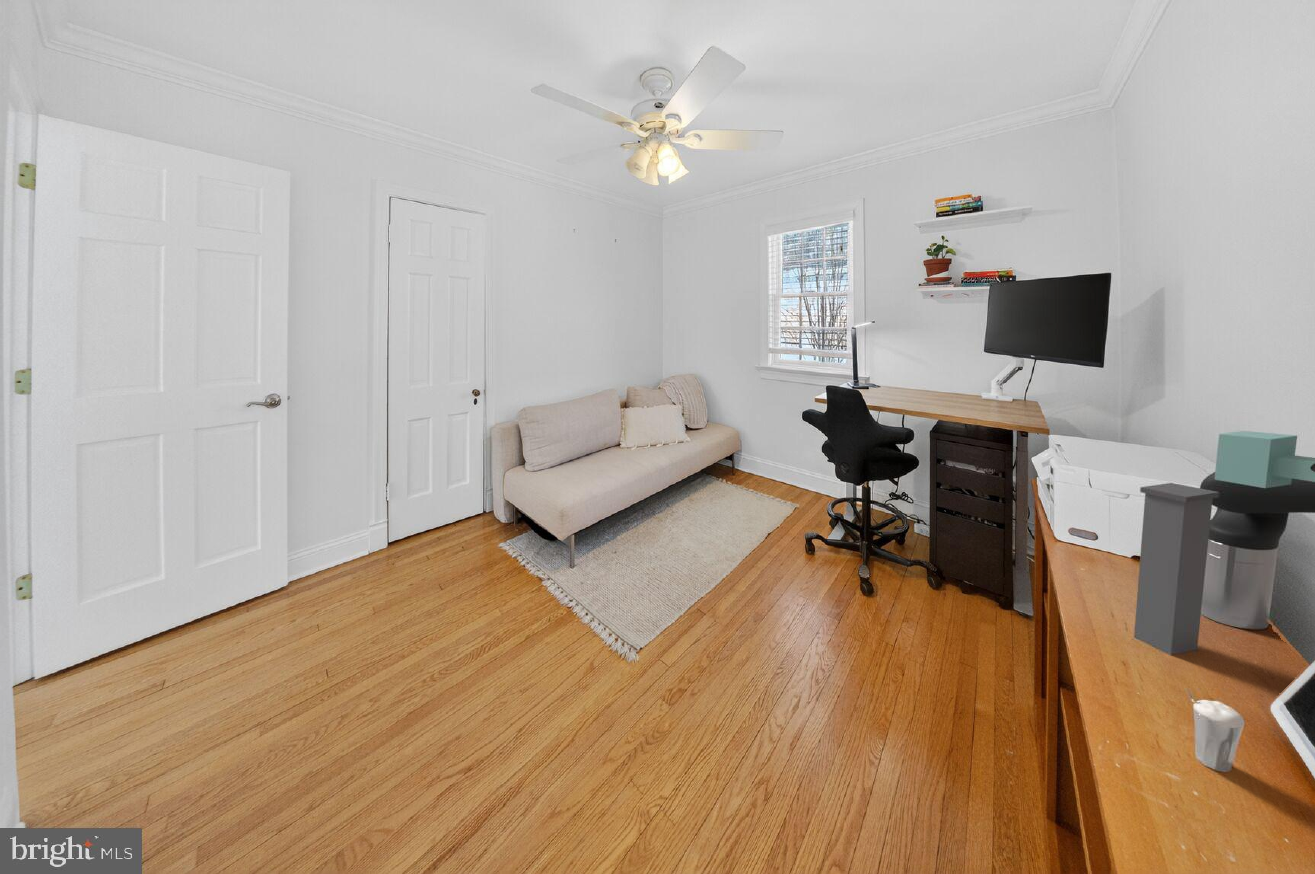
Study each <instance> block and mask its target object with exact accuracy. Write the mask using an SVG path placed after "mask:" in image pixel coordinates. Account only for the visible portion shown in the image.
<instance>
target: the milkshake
mask: <svg viewBox="0 0 1315 874" xmlns="http://www.w3.org/2000/svg"><path fill="white" fill-rule="evenodd" d="M1185 690H1186V692H1187V693H1188V694H1187V695H1188V696H1189V698H1190V700H1191V702H1192V704H1193V705H1192V706H1193V708H1192V709H1193V722H1194V751H1195V752H1194V753H1195V754H1194V755H1195V757H1196V758H1195V759H1196V760H1197V761H1199V762H1200V763H1201V764H1202V765H1203V766H1206V767H1207V768H1210V769H1211V770H1214V771H1217V772H1221V773H1228V772H1231V771H1232V767H1233V765H1234V760H1235V758H1236V753H1237V749H1238V744H1239V742H1240V738H1241V735H1242V732H1243V729H1244V727H1245V726H1244V725H1245V720H1244V718H1243V717H1242V715H1241V714H1239V712H1237V710H1235V709H1234V708H1232V707H1231V706H1229V705H1226V704H1224V703H1223V702H1221V701H1217V700H1208V699H1200V700H1197V701H1195V700H1194V699H1193V696H1192V695H1191V693H1190V691H1189V689H1188V687H1186V689H1185Z"/></svg>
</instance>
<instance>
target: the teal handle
mask: <svg viewBox="0 0 1315 874" xmlns="http://www.w3.org/2000/svg"><path fill="white" fill-rule="evenodd" d="M1297 440H1298V435H1293V434H1292V435H1291V434H1284V433H1273V432H1271V433H1270V432H1262V431H1250V430H1239V431H1233V432H1225V433H1219V434H1218V443H1217V450H1216V451H1217V453H1216V460H1215V461H1216V462H1215V470H1214V472H1215V480H1221V481H1227V482H1232V483H1238V484H1244V485H1250V486H1255V487H1261V488H1270V487H1277V486H1283V485H1290V484H1291V481H1292V478H1293V479H1299V480H1306V481H1312V482H1315V472H1314V471H1312V470H1311V469H1310V467H1311V466H1312V465H1313V464H1314V463H1315V457H1312V456H1311V457H1310V456H1301V455H1296V449H1297Z"/></svg>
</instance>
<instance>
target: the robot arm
mask: <svg viewBox="0 0 1315 874" xmlns="http://www.w3.org/2000/svg"><path fill="white" fill-rule="evenodd" d="M1310 469H1311V470H1312V471H1314V472H1315V463H1314V464H1313V465H1312V466H1311V467H1310ZM1199 488H1200V489H1205V490H1211V491H1216V492H1219V497H1218V498H1213V500H1212V507H1213V506H1214V507H1215V508H1216V512H1215V513H1214V515H1213V516H1212V517H1211V519H1210V529H1209V539H1208V549H1207V558H1206V568H1205V578H1204V588H1203V597H1202V607H1201V615H1202V616H1203V617H1206V618H1208V619H1210V620H1212V621H1215V622H1217V623H1220V624H1222V625H1227V626H1230V627H1235V628H1240V629H1245V630H1246V629H1247V630H1264V629H1266V628H1268V626H1269V621H1270V612H1271V606H1272V605H1271V604H1272V598H1273V590H1274V584H1275V583H1274V582H1275V575H1276V566H1277V557H1278V550H1279V543H1280V539H1281V537H1283V534H1284V532H1285V531H1286V528H1287V525H1288V520H1289V515H1290V514H1291V513H1295V514H1297V513H1302V514H1303V513H1304V514H1305V513H1308V514H1311V513H1312V514H1315V482H1312V481H1306V480H1299V479H1293V478H1292V481H1291V484H1290V485H1283V486H1277V487H1270V488H1261V487H1255V486H1250V485H1244V484H1238V483H1232V482H1227V481H1221V480H1215V471H1214V472H1212V473H1210V474H1208V475H1207V476H1206V477H1205V478H1204V479H1203V480H1202V482H1201V484H1200V485H1199ZM1267 619H1268V621H1267Z"/></svg>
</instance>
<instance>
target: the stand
mask: <svg viewBox="0 0 1315 874" xmlns="http://www.w3.org/2000/svg"><path fill="white" fill-rule="evenodd" d="M1139 490H1140V491H1139V493H1143V494H1144V495H1145V496H1144V506H1143V516H1142V517H1143V519H1142V531H1141V544H1140V555H1139V556H1140V557H1139V570H1138V582H1137V583H1138V584H1137V595H1136V606H1135V607H1136V608H1135V609H1136V610H1135V620H1134V621H1135V622H1134V634H1133V637H1134V638H1135V639H1138V640H1140V641H1141V642H1144V643H1145V644H1147V645H1150V646H1152V647H1153V648H1156V649H1157V650H1160V651H1161V652H1164V653H1165V654H1167V655H1170V656H1173V655H1178V654H1179V655H1180V654H1183V653H1189V652H1194V651H1197V650H1198V644H1199V636H1200V635H1199V634H1200V626H1201V617H1202V616H1201V615H1202V614H1201V607H1202V597H1203V588H1204V578H1205V568H1206V558H1207V549H1208V539H1209V529H1210V520H1211V519H1212V510H1213V509H1212V508H1213V505H1212V500H1213V498H1218V497H1219V492H1216V491H1211V490H1205V489H1200V487H1193V486H1189V485H1184V484H1179V483H1173V482H1167V483H1161V484H1153V485H1147V486H1141V487H1140V489H1139Z"/></svg>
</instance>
